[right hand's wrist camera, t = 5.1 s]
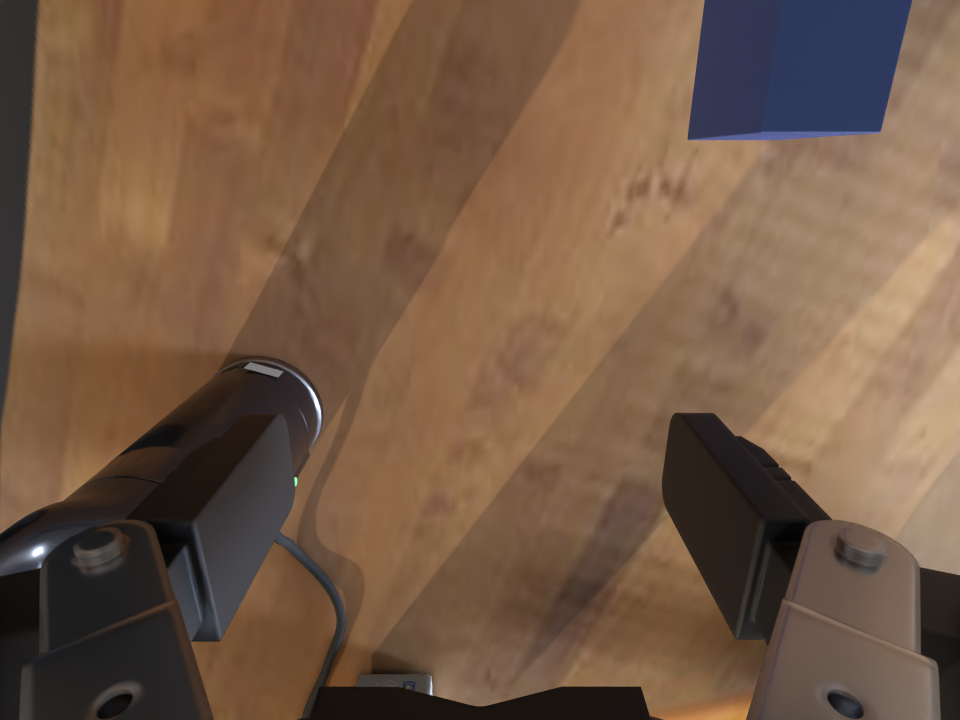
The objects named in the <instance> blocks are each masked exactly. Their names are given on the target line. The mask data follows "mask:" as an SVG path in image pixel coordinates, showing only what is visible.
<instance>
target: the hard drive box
mask: <svg viewBox="0 0 960 720" xmlns="http://www.w3.org/2000/svg"><path fill="white" fill-rule="evenodd" d="M356 687H401V688H405V689H409V690H413V691H417V692H421V693H425V694H429V695H432V676H431V675H428V674H361V675H359V676H358V681H357V685H356Z"/></svg>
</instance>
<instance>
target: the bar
mask: <svg viewBox="0 0 960 720" xmlns="http://www.w3.org/2000/svg"><path fill="white" fill-rule="evenodd" d="M911 3H912V0H705V3H704V11H703V19H702V27H701V35H700V43H699V51H698V59H697V67H696V75H695V83H694V91H693V99H692V107H691V115H690V123H689V131H688V140H782V139H796V138H811V137H826V136H840V135H855V134H870V133H879V132H880V131H881V128H882V124H883V119H884V115H885V111H886V107H887V103H888V98H889V94H890V90H891V86H892V82H893V78H894V73H895V69H896V65H897V61H898V57H899V53H900V48H901V44H902V40H903V36H904V32H905V28H906V23H907V19H908V15H909V11H910V7H911Z"/></svg>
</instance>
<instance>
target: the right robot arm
mask: <svg viewBox="0 0 960 720" xmlns="http://www.w3.org/2000/svg"><path fill="white" fill-rule="evenodd" d="M322 424H323V407H322V402H321V399H320V397H319V394H318V392H317V390H316V389H315V387H314V385H313V384H312V383H311V381H310V380H309V379H308V378H307V377H306V376H305V375H304V374H303V373H302V372H300V371H299V370H298V369H296V368H295V367H293V366H291V365H290V364H288V363H286V362H283V361H281V360H278V359H274V358H270V357H260V356H255V357H246V358H242V359H239V360H236V361H234V362H232V363H230V364H228V365H227V366H225V367H224V368H223V369H222V370H220V371H219V372H218V373H217V374H216V375H215V376H214V377H213V378H212V379H211V380H210V381H209V382H208V383H206V384H205V385H204V386H203V387H201V388H200V389H199V390H198V391H196V392H195V393H194V394H193V395H192V396H190V397H189V398H188V399H187V400H185V401H184V402H183V403H182V404H181V405H179V406H178V407H177V408H176V409H174V410H173V411H172V412H171V413H170V414H168V415H167V416H166V417H165V418H164V419H162V420H161V421H160V422H159V423H157V424H156V425H155V426H154V427H153V428H151V429H150V430H149V431H148V432H146V433H145V434H144V435H143V436H142V437H140V438H139V439H138V440H137V441H136V442H134V443H133V444H132V445H131V446H129V447H128V448H127V449H126V450H125V451H123V452H122V453H121V454H120V455H118V456H117V457H116V458H115V459H114V460H112V461H111V462H110V463H109V464H108V465H107V466H105V467H104V468H103V469H102V470H100V471H99V472H98V473H97V474H96V475H94V476H93V477H92V478H91V479H89V480H88V481H87V482H86V483H85V484H83V485H82V486H81V487H80V488H79V489H77V490H76V491H75V492H74V493H72V494H71V495H70V496H69V497H67V498H66V499H65V500H64V501H61V502H58V503H54V504H51V505H48V506H46V507H43V508H41V509H39V510H36V511H35V512H33V513H31V514H29V515H27V516H26V517H24V518H22V519H21V520H19V521H18V522H16V523H15V524H14V525H12V526H11V527H9V528H8V529H7V530H5V531H4V532H3V533H1V534H0V720H214V718H213V715H212V712H211V708H210V705H209V702H208V699H207V695H206V692H205V689H204V685H203V682H202V679H201V675H200V672H199V669H198V665H197V662H196V659H195V656H194V652H193V649H192V646H191V641H221V639H222V637H223V635H224V633H225V631H226V629H227V628H228V626H229V624H230V622H231V620H232V618H233V616H234V615H235V613H236V611H237V609H238V607H239V605H240V603H241V602H242V600H243V598H244V596H245V594H246V592H247V590H248V589H249V587H250V585H251V583H252V581H253V579H254V577H255V576H256V574H257V572H258V570H259V568H260V566H261V564H262V563H263V561H264V559H265V557H266V555H267V553H268V551H269V550H270V548H271V546H272V544H273V542H275V543H277V544H279V545H281V546H283V547H285V548H286V549H287V550H288V551H289V552H290V553H291V554H292V555H293V556H294V557H295V558H296V559H297V560H298V561H299V562H300V563H301V564H302V565H303V566H304V567H305V568H306V569H307V570H308V571H309V572H310V573H311V574H312V575H313V576H314V577H315V578H316V579H317V580H318V582H319V583H320V584H321V585H322V587H323V588H324V589H325V591H326V592H327V594H328V595H329V597H330V599H331V601H332V603H333V606H334V609H335V612H336V618H337V626H336V631H335V635H334V638H333V641H332V644H331V646H330V648H329V651H328V653H327V655H326V658H325V661H324V664H323V667H322V670H321V673H320V675H319V678H318V680H317V682H316V684H315V686H314V688H313V690H312V692H311V695H310V697H309V699H308V701H307V704H306V706H305V709H304V712H303V716H302V718H301V719H298V720H662V719H659V718H655V717H652V716H649V712H648V709H647V706H646V702H645V699H644V696H643V693H642V689H641V687H559V688H555V689H551V690H547V691H543V692H539V693H535V694H531V695H527V696H524V697H520V698H516V699H512V700H508V701H504V702H500V703H496V704H492V705H488V706H472V705H468V704H464V703H460V702H456V701H452V700H448V699H444V698H440V697H436V696H433V695H429V694H425V693H421V692H417V691H413V690H409V689H405V688H401V687H323V686H324V684H325V682H326V680H327V677H328V675H329V672H330V669H331V666H332V663H333V660H334V658H335V655H336V653H337V651H338V648H339V646H340V644H341V641H342V638H343V635H344V631H345V612H344V607H343V604H342V601H341V598H340V596H339V594H338V592H337V590H336V588H335V587H334V585H333V584H332V582H331V581H330V580H329V578H328V577H327V576H326V575H325V574H324V572H323V571H322V570H321V569H320V568H319V567H318V566H317V565H316V564H315V563H314V562H313V561H312V560H311V559H310V558H309V557H308V556H307V555H306V554H305V553H304V552H303V551H302V550H301V549H300V548H299V547H298V546H297V545H296V544H295V543H294V542H293V541H292V540H291V539H289V538H288V537H285V536H284V535H283V534H282V533H281V532H280V529H281V527H282V525H283V524H284V522H285V520H286V518H287V516H288V514H289V512H290V510H291V508H292V505H293V501H294V496H295V486H296V484H297V478H298V476H299V474H300V472H301V471H302V469H303V467H304V465H305V464H306V462H307V460H308V458H309V456H310V455H309V449H310V448H311V447H312V445H313V444H314V442H315V440H316V439H317V437H318V435H319V433H320V431H321V428H322ZM662 493H663V499H664V503H665V507H666V509H667V511H668V513H669V515H670V517H671V519H672V521H673V522H674V524H675V526H676V528H677V530H678V532H679V534H680V536H681V537H682V539H683V541H684V543H685V545H686V547H687V549H688V551H689V553H690V554H691V556H692V558H693V560H694V562H695V564H696V566H697V568H698V569H699V571H700V573H701V575H702V577H703V579H704V581H705V583H706V584H707V586H708V588H709V590H710V592H711V594H712V596H713V598H714V600H715V601H716V603H717V605H718V607H719V609H720V611H721V613H722V615H723V616H724V618H725V620H726V622H727V624H728V626H729V628H730V630H731V632H732V633H733V635H734V637H735V639H764V640H765V642H766V644H767V645H768V649H767V652H766V656H765V659H764V662H763V665H762V669H761V672H760V675H759V679H758V682H757V685H756V689H755V692H754V695H753V699H752V702H751V705H750V708H749V712H748V715H747V718H746V720H960V575H955V574H950V573H945V572H940V571H935V570H930V569H925V568H921V567H919V565H918V563H917V561H916V559H915V558H914V557H913V555H912V554H911V553H910V552H909V551H908V550H907V549H906V548H905V547H903V546H902V545H901V544H899V543H898V542H896V541H895V540H893V539H892V538H890V537H888V536H886V535H884V534H883V533H880V532H878V531H876V530H874V529H871V528H868V527H866V526H863V525H859V524H856V523H852V522H847V521H841V520H832V519H831V518H830V517H829V516H828V515H827V514H826V513H825V512H824V511H823V510H822V509H821V508H820V507H819V506H818V504H817V503H816V502H815V501H814V500H813V499H812V498H811V497H810V496H809V495H808V494H807V493H806V492H805V491H804V490H803V489H802V488H801V487H800V486H799V485H798V484H797V483H796V482H795V481H791V477H790V476H789V475H788V474H787V473H786V472H785V471H784V470H783V469H782V468H779V464H778V463H777V462H776V461H775V460H774V459H773V458H772V457H771V456H770V455H769V454H768V453H767V452H766V451H765V450H764V449H762V448H760V447H759V446H757V445H755V444H753V443H752V442H750V441H748V440H746V439H745V438H743V437H741V436H734V434H733V433H732V432H731V431H730V430H729V429H728V428H727V427H726V426H725V425H724V424H723V422H722V421H721V420H720V419H719V418H718V417H717V416H716V415H715V414H713V413H675V414H674V415H673V416H672V418H671V421H670V426H669V433H668V440H667V448H666V455H665V462H664V469H663V476H662Z"/></svg>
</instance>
